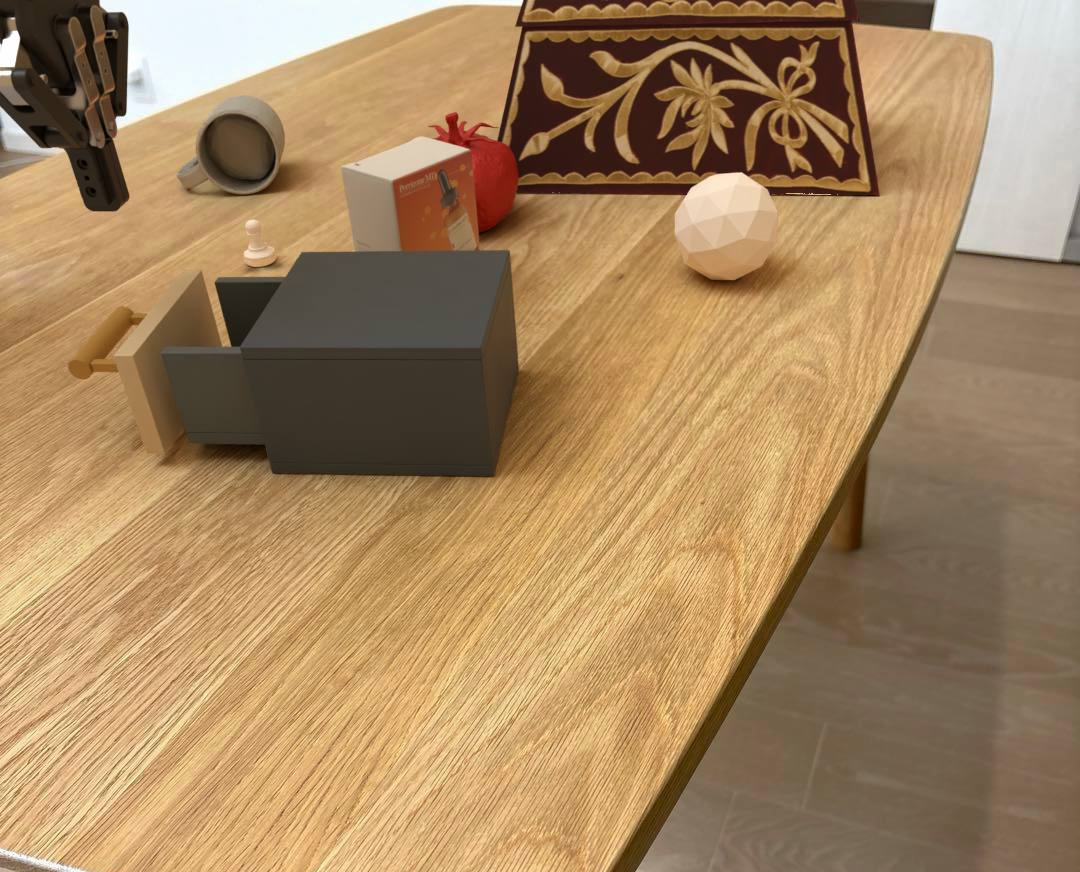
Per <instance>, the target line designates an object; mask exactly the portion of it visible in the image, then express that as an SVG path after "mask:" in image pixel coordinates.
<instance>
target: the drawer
mask: <svg viewBox="0 0 1080 872" xmlns="http://www.w3.org/2000/svg"><path fill="white" fill-rule="evenodd" d="M285 277H286V276H219V277H217V278H216V280H215V281H214V286H215V290H216V294H217V298H218V301H219V305H220V309H221V312H222V313H221V314H222V317H223V321H224V325H225V328H226V331H227V335H228V339H229V343H230V344H229V345H230V346H223V344H222V341H221V337H220V333H219V329H218V325H217V322H216V319H215V314H214V310H213V306H212V304H211V303H212V302H211V299H210V296H209V293H208V289H207V285H206V281H205V277H204V273H203V270H202V269H184V270H183V271H182V272H181V273H180V274H179V276H178V277H177V278H176V279H175V281H174V282H172V284H171V285H170V286H169V288H167V290H166V291H165V293H163V295H162V296H161V297H160V298H159V300H158V301H157V302H156V303H155V304H154V306H153V307H152V308H151V309H150V311H149V312H147V313H145V312H144V313H141V312H140V313H138V312H137V313H135V312H134V311H133V310H132V309H131V308H130V307H127V306H124V305H123V306H122V305H121V306H118V307H116V308H115V309H114V311H113V312H112V313H111V314H110V315H109V316H108V317H107V318H106V320H105V321H103V323H102V324H101V325H100V326H99V328H98V329H97V330H96V331H95V332H94V333H93V334H92V336H91V337H90V338H89V339H88V340H87V341H86V343H84V345H83V346H82V347H81V348H80V349H79V350H78V351H77V352H76V354H75V355H73V357H72V358H71V359H70V360H69V361H68V363H67V369H68V371H69V373H70V374H71V376H73V377H75V378H76V379H79V380H88V379H90V377H91V376H92V375H93V373H118V374H119V377H120V380H121V383H122V386H123V389H124V391H125V394H126V397H127V400H128V403H129V406H130V408H131V409H130V410H131V412H132V415H133V417H134V421H135V424H136V426H137V429H138V432H139V435H140V438H141V440H142V444H143V447H144V450H145V452H146V454H147V455H166V453H167V452H168V450H169V449H170V447H171V445H173V443H174V441H175V440H176V438H177V437H178V435H179V434H180V432H181V431H182V429H184V432H185V436H186V439H187V443H188V444H189V445H191V444H192V445H194V444H195V445H199V444H200V445H203V444H204V445H264V446H265V444H264V440H263V436H262V432H261V428H260V425H259V421H258V417H257V413H256V409H255V405H254V401H253V397H252V394H251V390H250V386H249V382H248V378H247V374H246V370H245V367H244V363H243V358H242V354H241V350H240V346H241V344H242V343H243V341H244V340H245V338H246V337H247V335H248V334H249V332H250V331H251V329H252V328H253V326H254V324H255V323H256V321H257V320H258V318H259V317H260V315H261V314H262V312H263V311H264V309H265V308H266V306H267V305H268V303H269V301H270V300H271V298H272V297H273V295H274V294H275V292H276V291H277V289H278V288H279V286H280V285H281V283H282V281H283V280H284V278H285ZM133 326H136V327H135V329H134V330H133V331H132V332H131V333H130V335H129V336H128V337H127V338H126V339H125V341H124V342H123V343H122V344H121V346H120V347H119V348H118V349H117V350H116V352H115V353H114V354H113V356H112V357H113V358H107V357H108V356H109V355H110V353H111V352H112V351H113V349H114V348H116V346H117V345H118V344H119V342H120V341H121V340H122V339H123V337H124V336H125V335H126V334H127V333H128V332H129V330H131V328H132V327H133Z"/></svg>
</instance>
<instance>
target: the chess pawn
mask: <svg viewBox="0 0 1080 872" xmlns="http://www.w3.org/2000/svg"><path fill="white" fill-rule="evenodd" d="M244 228H245V231H246V235H247V236H249V244H248V246H247V248H248V249H246V250H245V251H244V252H243V259H244V263H245V264H246V265H247V266H250V267H253V268H261V267H266V266H269V265H271V264H273V263H274V262H275V261H276V260H277V254H276V251H275V250H276V249H275V248H274V247H273V246H270V245H268V243H267V242H265V240H264V239H263V237H262V235H261V234H262V233H263V229H262V224H261V222H260V221H259V220H257V219H249V220H248V221H246V222H245V225H244Z"/></svg>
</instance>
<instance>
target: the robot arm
mask: <svg viewBox="0 0 1080 872" xmlns="http://www.w3.org/2000/svg"><path fill="white" fill-rule="evenodd" d="M129 32H130V25H129V20H128V17H127V15H126V14H125V12H123V11H107V10H106V9H104V8H103V7H102V5H101V0H0V45H1V49H0V108H1V109H2V111H4V113H5V114H7V115H8V116H9V117H10V118H11V120H12V121H14V122H15V124H16V125H18V127H19V128H20V129H21V130H22V131H23V132H24V133H25V134H26V135H27V136H28V137H29V138H30V139H31V140H32V141H33V142H34V143H35V144H36V145H37V146H38V148H41V149H52V148H57V149H61V150H62V149H63V150H64V151H65V153H66V155H67V156H68V159H69V162H70V167H71V169H72V172H73V175H74V178H75V181H76V185H77V187H78V190H79V194H80V196H81V199H82V202H83V205H84V207H85V208H86V209H87V210H88V211H90V212H97V213H98V212H100V213H101V212H103V213H104V212H105V213H107V212H117V211H119V210H120V208H122V207H123V206H124V205H125V204H126V203H127V202H128V201H129V200H130V198H131V197H130V192H129V189H128V185H127V182H126V178H125V175H124V172H123V169H122V165H121V161H120V159H119V155H118V151H117V148H116V145H115V141H114V139H115V138H116V137H117V135H118V125H117V121H116V119H117V118H118V117H121V118H122V117H123V118H124V117H126V115H127V112H128V73H129V72H128V70H129V37H130V36H129V34H130V33H129Z"/></svg>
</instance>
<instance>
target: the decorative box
mask: <svg viewBox="0 0 1080 872" xmlns="http://www.w3.org/2000/svg"><path fill="white" fill-rule="evenodd" d="M853 22H860V17H859V13H858V10H857V5H856V1H855V0H522V2H521V6H520V9H519V13H518V16H517V19H516V23H515V25H514V28H521V30H520V36H519V39H518V45H517V49H516V53H515V57H514V62H513V67H512V72H511V76H510V81H509V86H508V89H507V94H506V99H505V102H504V103H505V104H504V107H503V112H502V117H501V122H500V126H499V131H498V135H497V139H496V141H499V142H502V143H504V144H506V145H507V146H508V147H509V148H510V149H511V151H512V152H513V154H514V156H515V161H516V163H517V169H518V176H519V177H518V178H519V180H518V187H517V192H516V194H558V193H559V192H560V193H594V194H593V195H683V194H688V192H689V190H690V189H691V188H692V187H694V186H695V185H697V184H698V183H700V182H702V181H703V180H705V179H706V178H708V177H710V176H713V175H716V174H726V173H741V172H742V173H743V174H745V175H746V176H748V177H749V178H751V179H752V180H754V181H755V182H757V183H758V184H760V185H761V186H763V187H764V188H766V189H767V190H768V192H769V194H786V193H803V194H804V193H805V194H809V193H810V194H811V193H813V194H831V195H837V194H838V195H875V196H874V197H880V196H881V195H880V189H879V182H878V175H877V169H876V162H875V157H874V150H873V145H872V138H871V133H870V127H869V119H868V113H867V107H866V99H865V95H864V88H863V83H862V76H861V69H860V63H859V57H858V51H857V45H856V38H855V33H854V26H853ZM552 192H554V193H552Z"/></svg>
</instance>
